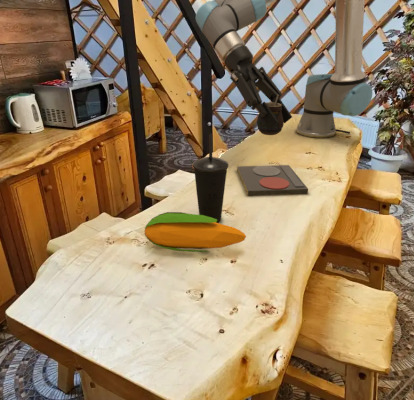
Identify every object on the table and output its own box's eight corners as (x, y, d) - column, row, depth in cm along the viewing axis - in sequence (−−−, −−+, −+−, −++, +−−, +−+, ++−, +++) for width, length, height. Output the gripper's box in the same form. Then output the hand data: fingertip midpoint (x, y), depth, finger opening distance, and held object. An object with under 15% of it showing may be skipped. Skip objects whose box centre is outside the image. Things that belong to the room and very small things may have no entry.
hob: (288, 169, 113) (288, 164, 113) (307, 194, 97) (308, 188, 96) (236, 171, 112) (237, 165, 111) (247, 196, 96) (248, 190, 95)
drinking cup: (188, 215, 86) (186, 131, 77) (218, 209, 89) (219, 128, 80) (200, 231, 80) (200, 141, 71) (232, 224, 82) (236, 137, 74)
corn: (148, 202, 75) (247, 207, 73) (151, 233, 78) (245, 239, 76) (138, 222, 68) (246, 229, 66) (142, 255, 72) (244, 262, 70)
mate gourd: (252, 135, 101) (254, 97, 96) (260, 128, 107) (263, 92, 102) (278, 138, 98) (281, 100, 94) (285, 131, 104) (288, 94, 100)
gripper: (246, 61, 110) (289, 123, 108) (204, 66, 97) (252, 138, 95) (262, 42, 105) (308, 108, 103) (220, 45, 91) (272, 121, 89)
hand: (281, 122), depth 99 cm, fingers closed on mate gourd, 7 cm apart
